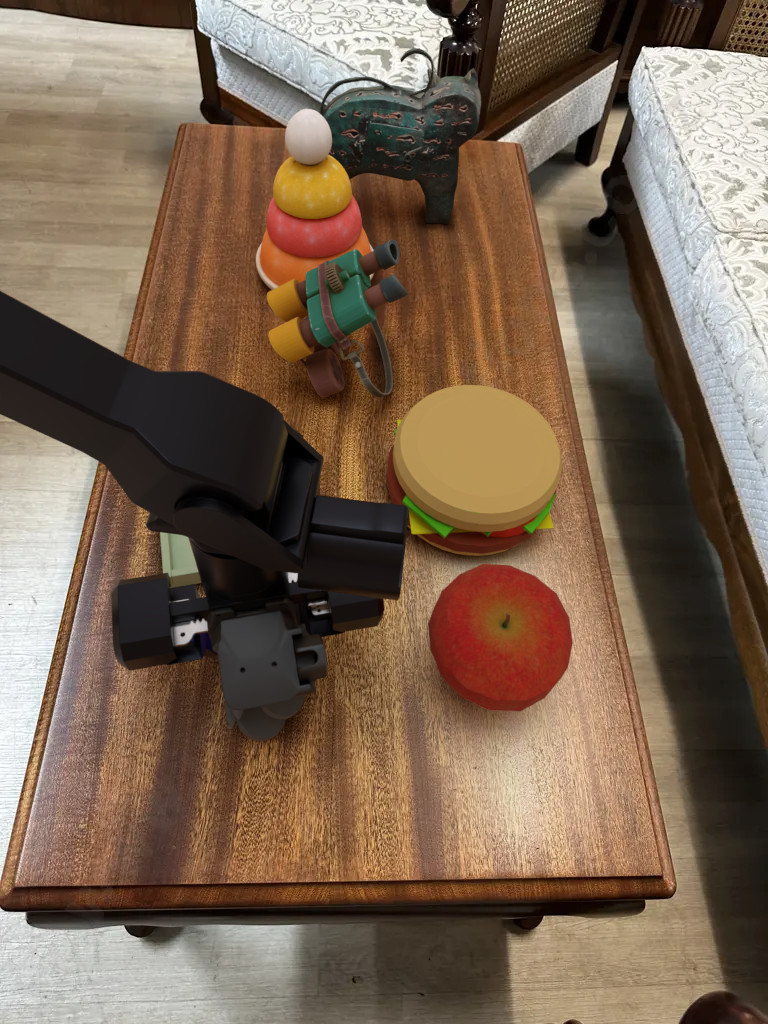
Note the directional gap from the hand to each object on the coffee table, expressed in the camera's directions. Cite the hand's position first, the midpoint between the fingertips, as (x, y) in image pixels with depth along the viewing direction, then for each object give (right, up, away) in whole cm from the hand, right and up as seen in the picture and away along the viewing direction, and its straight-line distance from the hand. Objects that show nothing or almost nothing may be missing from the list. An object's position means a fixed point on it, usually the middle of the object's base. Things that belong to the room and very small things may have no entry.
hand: (258, 646), depth 59 cm
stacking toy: (+2, +40, +28) cm, 49 cm away
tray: (-6, +12, +10) cm, 17 cm away
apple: (+18, -3, +3) cm, 19 cm away
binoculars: (+5, +26, +20) cm, 33 cm away
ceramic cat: (+11, +50, +35) cm, 62 cm away
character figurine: (0, -1, +2) cm, 2 cm away
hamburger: (+18, +13, +13) cm, 26 cm away
